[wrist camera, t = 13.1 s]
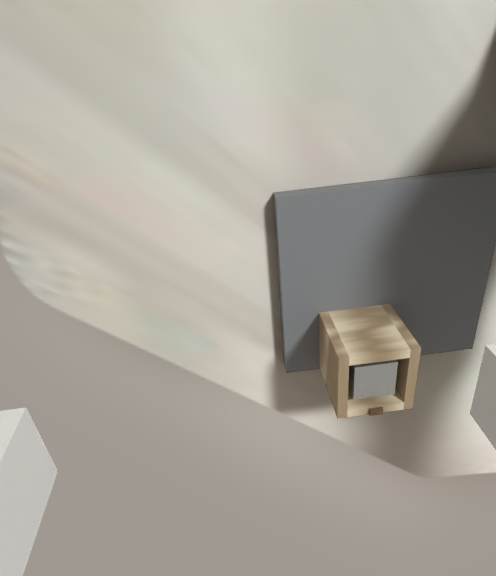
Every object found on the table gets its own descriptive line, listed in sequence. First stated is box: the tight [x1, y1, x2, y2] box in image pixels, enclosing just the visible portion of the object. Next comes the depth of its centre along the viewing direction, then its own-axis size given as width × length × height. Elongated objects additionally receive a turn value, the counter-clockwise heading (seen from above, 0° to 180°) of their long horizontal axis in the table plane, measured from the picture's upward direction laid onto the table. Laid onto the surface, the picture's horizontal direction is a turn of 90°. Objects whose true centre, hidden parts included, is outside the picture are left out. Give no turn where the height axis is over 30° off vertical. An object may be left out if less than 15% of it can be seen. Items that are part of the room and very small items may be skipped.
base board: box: [273, 167, 496, 373], centre depth 42 cm, size 20×19×2 cm
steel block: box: [348, 360, 398, 400], centre depth 42 cm, size 4×4×8 cm
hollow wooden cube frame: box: [319, 304, 421, 418], centre depth 41 cm, size 7×7×7 cm
